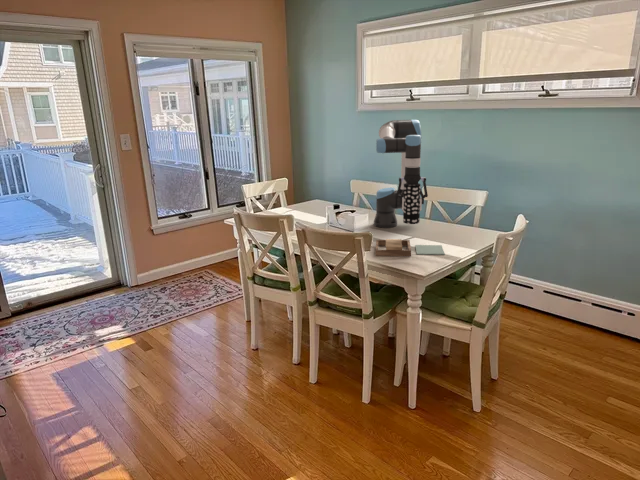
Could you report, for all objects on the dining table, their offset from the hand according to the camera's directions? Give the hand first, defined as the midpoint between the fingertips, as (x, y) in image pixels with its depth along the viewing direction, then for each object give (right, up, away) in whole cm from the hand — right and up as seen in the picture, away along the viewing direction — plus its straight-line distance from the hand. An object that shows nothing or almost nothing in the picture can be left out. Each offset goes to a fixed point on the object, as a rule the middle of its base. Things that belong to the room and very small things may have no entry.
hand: (411, 210), depth 230 cm
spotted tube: (0, -6, +2) cm, 7 cm away
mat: (+10, -21, +4) cm, 24 cm away
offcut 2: (-9, -21, +1) cm, 22 cm away
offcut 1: (-9, -18, 0) cm, 20 cm away
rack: (-9, -21, +7) cm, 24 cm away
